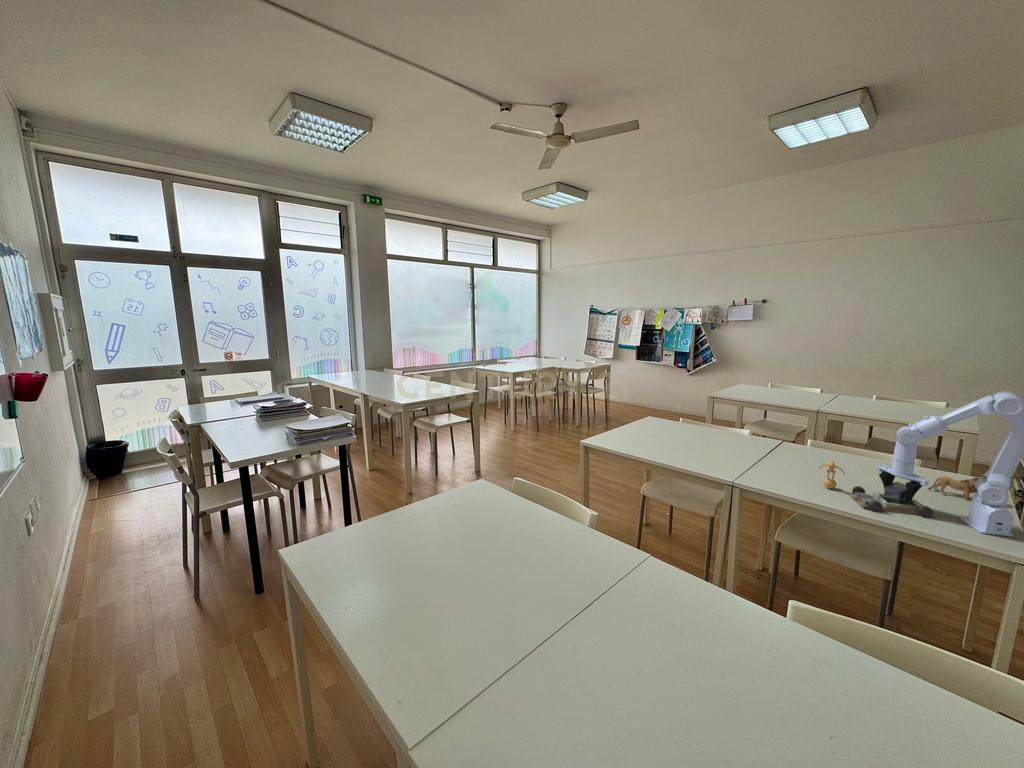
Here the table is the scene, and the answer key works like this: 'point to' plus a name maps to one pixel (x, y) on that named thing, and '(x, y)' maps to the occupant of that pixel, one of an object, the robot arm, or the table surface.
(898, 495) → the brushed grey box
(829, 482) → the figurine
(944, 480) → the lion figurine
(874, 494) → the toy car chassis
